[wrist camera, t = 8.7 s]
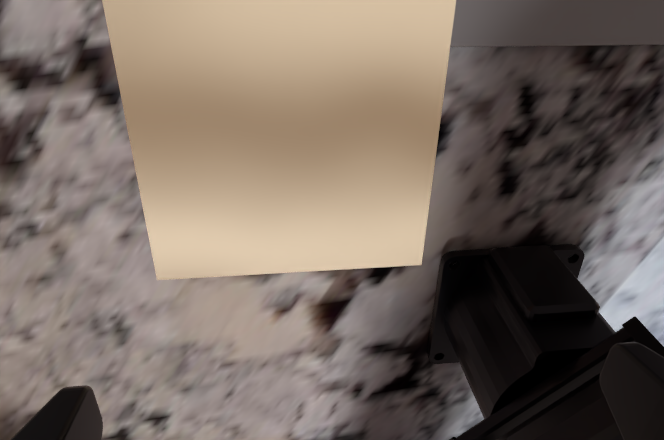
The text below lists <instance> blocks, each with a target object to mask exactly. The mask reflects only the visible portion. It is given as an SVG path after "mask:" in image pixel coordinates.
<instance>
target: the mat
mask: <svg viewBox="0 0 664 440" xmlns="http://www.w3.org/2000/svg"><path fill="white" fill-rule="evenodd" d="M587 45H664V0H456V6H455V14H454V21H453V29H452V36H451V44H450V47H496V46H587Z"/></svg>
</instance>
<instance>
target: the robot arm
mask: <svg viewBox="0 0 664 440" xmlns="http://www.w3.org/2000/svg"><path fill="white" fill-rule="evenodd" d="M573 254H574V255H573ZM571 255H573V256H572V257H570V256H571ZM569 257H570V258H569ZM583 259H584V253H583V251H582V250H581V249H580V248H579V247H578V246H576V245H572V244H570V245H552V246H548V245H537V246H519V247H501V248H494V249H480V250H462V251H451V252H448V253H446V254H445V255H444V256H443V257H442V259H441V263H440V269H439V276H438V282H437V289H436V296H435V302H434V309H433V315H432V322H431V328H430V335H429V341H428V348H427V355H428V357H429V360H430V361H431V362H432V363H434V364H442V363H455V362H460V364H461V367H462V369H463V371H464V373H465V376H466V378H467V380H468V383H469V385H470V387H471V389H472V392H473V394H474V396H475V399H476V401H477V403H478V405H479V408H480V410H481V412H482V415H483V417H484V420H483V421H481V422H480V423H478V424H477V425H475V426H474V427H472V428H471V429H469V430H467V431H466V432H464V433H463V434H461V435H460V436H458V437H457V438H455V437H452V438H451V439H449V440H664V347H663V346H662V345H661V344H660V342H659V341H658V340H657V339H656V338H655V337H654V336H653V335H652V334H651V333H650V332H649V331H648V330H647V329H646V327H645V326H644V325H643V324H642V323H641V322H640V321H639V320H638V319H637V318H636V317H633V318H632V319H630V320H629V321H627V322H626V323H624V324H623V325H622V326H623V328H622V329H620V330H619V331H617V332H615V331H614V330H613V329H612V327H611V326H610V325H609V324H608V323H607V322H606V320H605V319H604V318H603V317H602V316H601V314H600V313H599V312H598V311H599V308H600V306H599V304H598V303H597V302H596V300H595V299H594V298H593V297H592V296H591V295H590V293H589V292H588V291H587V290H586V289H585V288H584V286H583V285H582V284H581V283H580V282H579V281H578V279H577V278H578V275H579V272H580V269H581V266H582V263H583ZM453 261H457V262H456V263H455V264H453V265H450V263H451V262H453ZM437 353H439V354H437ZM102 431H103V422H102V416H101V413H100V410H99V407H98V404H97V401H96V398H95V395H94V392H93V390H92V388H91V387H90V386H73V387H65V388H63V389H61V390H60V391H59V392H58V393H57V394H56V395H55V396H54V397H53V398H52V399H51V400H50V401H49V402H48V403H47V404H46V405H45V406H44V407H43V408H42V409H41V410H40V411H39V412H38V413H37V414H36V415H35V416H34V417H33V418H32V419H31V420H30V421H29V422H28V423H27V424H26V425H25V426H24V427H23V428H22V429H21V430H20V431H19V432H18V433H17V434H16V435H15V436H14V437H13V438H12V439H11V440H101V438H102Z"/></svg>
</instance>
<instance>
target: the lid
mask: <svg viewBox="0 0 664 440" xmlns="http://www.w3.org/2000/svg"><path fill="white" fill-rule="evenodd" d="M102 1H103V6H104V11H105V16H106V21H107V27H108V32H109V37H110V42H111V47H112V52H113V57H114V62H115V67H116V73H117V78H118V83H119V88H120V93H121V98H122V103H123V108H124V113H125V119H126V124H127V129H128V134H129V139H130V144H131V149H132V154H133V159H134V165H135V170H136V175H137V180H138V185H139V190H140V195H141V200H142V205H143V210H144V216H145V221H146V226H147V231H148V236H149V241H150V246H151V251H152V256H153V262H154V267H155V272H156V277H157V280H167V279H184V278H202V277H219V276H237V275H255V274H272V273H290V272H307V271H325V270H342V269H360V268H377V267H395V266H413V265H421V264H422V256H423V249H424V241H425V234H426V226H427V219H428V211H429V203H430V196H431V188H432V181H433V173H434V165H435V158H436V150H437V143H438V135H439V127H440V120H441V112H442V105H443V97H444V90H445V82H446V74H447V67H448V59H449V52H450V44H451V36H452V29H453V21H454V14H455V6H456V0H102Z"/></svg>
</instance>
